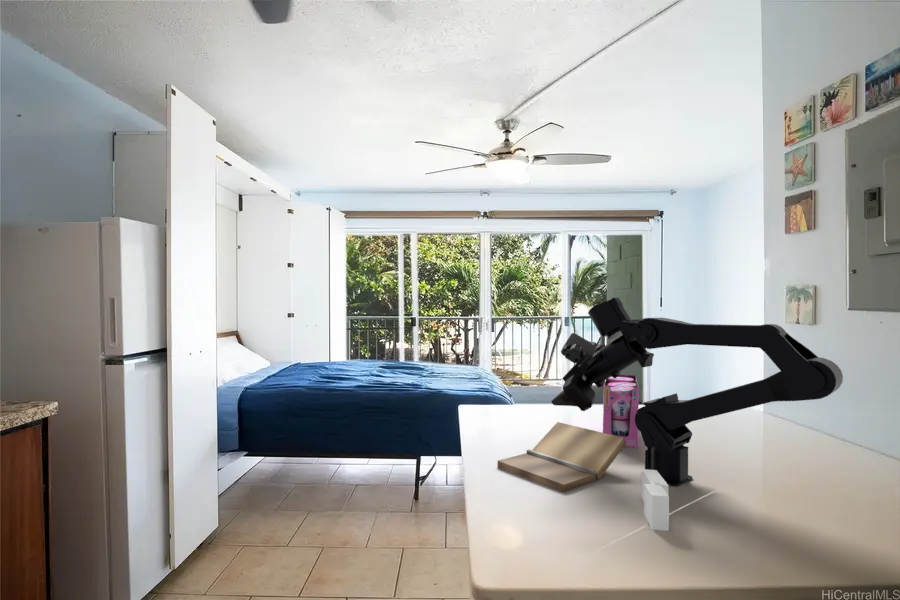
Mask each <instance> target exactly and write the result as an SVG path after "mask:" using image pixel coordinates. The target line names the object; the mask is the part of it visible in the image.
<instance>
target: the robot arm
mask: <svg viewBox="0 0 900 600" xmlns="http://www.w3.org/2000/svg"><path fill="white" fill-rule="evenodd" d="M587 313H588V315H589V317H590V319H591V321H592V322H593V324H594V326H595V328H596V330H597V332H598V333H599V335H600V337H601V338H605V337H607V338H608V340H612V339H614V340H612V341H611V342H609V343H607V344H606V345H605V344H604V343H600V344H597V343H596V341H590V340H588V339H585V338H584V337H582V336H580V335H579V334H577V333H574V332H572V333H571V334H570V335H569V337H568V338H567V339H566V341H565V343H564V344H563V346H562V348H561V350H560V353H561V355H562V356H564V357H565V359H567V360H568V361H570V362H572V363H573V366H572V367H571V368H570V369H569V370H568V371H567V372H566V373H565V375H564V376H563V377H562V380H563V381H564V384H563V385H562V391H560V393H558V394H557V395H556V396H555V397H554V398H553V399H552V400H551V401H550V402H551V404H552V405H553V406H562V407H564V406H565V407H566V406H567V407H577V408H578V409H579V410H580V411H581V412H585V411H588V410H589V409H591V408H592V407H593V404H594V401H595V398H596V392H595V390H594V389H593V388H592V387H593V384H594V385H596V386H597V388H598V389H599V388H601V387H602V386H604V383H605V381H606V379H608V378H609V377H611V376H612V377H613V378H614V379H615V378H616V377H618V376H619V375H620V372H621V371H623V370H625V369H627V368H628V367H630V366H632V365H634V364H635V363H639V366H640V367H641V368H647V367H652V366H653V361H654V360H653V359H654V355H655V353H652V352H649V351H648V350H653V349H660V348H668V347H676V346H677V347H678V346H685V345H692V346H693V345H697V346H711V347H712V346H713V347H717V346H718V347H735V348H737V347H738V348H756V349H757V348H758V349H761V350H762V352H764V353H765V354H766V356H767V357H768V358H769V359H770V360H771V361H772V363H773V364H774V365H775V366H776V367H777V369H778V370H779V372H775V373H773V374H772V375H770V376H768V377H766V378H764V379H760V380H755V381H753V382H749V383H745V384H743V385H738V386H735V387H732V388H731V387H730V388H728V389H724V390H721V391H716V392H713V393H710V394H706V395H703V396H699V397H695V398H691V399H684V400H683V399H679V396H678V393H677V392H676V393H673V394H670V395H667V396H662V397H660V398H659V397H658V398H655V399H651V400H648V401H644V402H643V403H642V404H643V406H642V407H638V410H637V413H636V415H635V424H636V426H637V428H638V432H639V433H640V434H641V438H642V442H643V443H644V446H645V447H646V449H645V450H644V469H646V470H657V471H658V473H659V474H660V475H661V477H662V478H663V479H664V480H665V482H666V483H667V484H668V486H669V485H670V486H672V487H679V486H681V485H684V484H685V483H688V482H689V481H691V480H693V476H692V475H689V446H686V444H689V443H690V442H691V440H692V436H693V432H692V431H691V430H690V429H689V427H688V426H687V425H688V424H690V423H691V422H697V421H699V420H703V419H708V418H712V417H716V416H720V415H723V414H729V413H733V412H736V411H740V410H744V409H748V408H752V407H756V406H761V405H765V404H770V403H772V402H773V403H775V402H797V401H798V402H800V401H812V400H814V401H815V400H821V399H823V398H826V397H828V396H829V395H831V394H833V393H835V392H836V391H837V390H839V388H840V387H841V385H842V383H843V382H844V381H843V379H844V376H843V371H842V370H841V368H840V367H839V365H837V364H836V363H835V362H834V361H832V360H830V359H827V358H824V357H819V356H818V355H816V353H814V352H813V351H812V350H810V348H808V347H806V346H805V345H804V344H802V343H801V342H800V341H798V340H797V339H795V338H794V337H793V336H791V335H790V334H789V333H788V332H786V330H785V329H784V328H783V327H782V326H780V325H779V324H776V323H775V324H774V323H769V324H768V323H767V324H766V323H765V324H761V325H759V324H756V325H755V324H752V325H751V324H712V323H710V324H705V323H703V324H702V323H690V322H685V321H684V320H683V321H682V320H677V319H673V318H667V317H644V318H642V319H631V317H630V316H629V313H628V312H627V311H626V310H625V308H624V306H623V303H622V301H621V299H620V298H619V297H611V299H609V300H606V301H602V302H601V303H599V304H596V305H594V306H593V307H591V308H590V309H589V310H588V312H587Z"/></svg>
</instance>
